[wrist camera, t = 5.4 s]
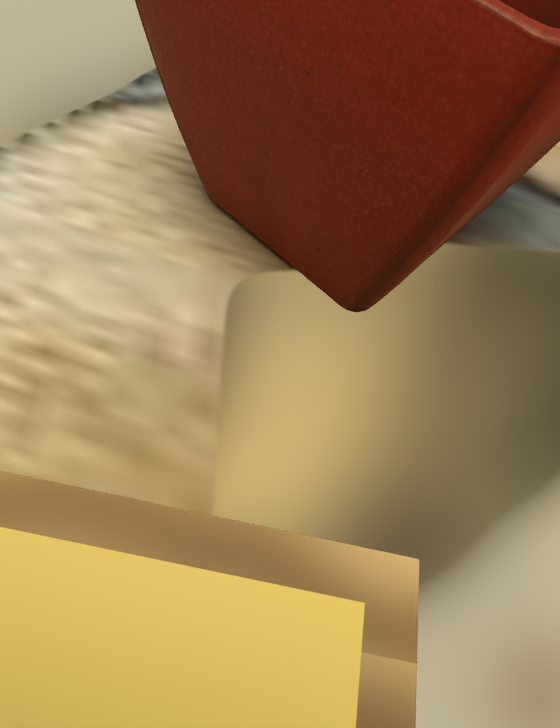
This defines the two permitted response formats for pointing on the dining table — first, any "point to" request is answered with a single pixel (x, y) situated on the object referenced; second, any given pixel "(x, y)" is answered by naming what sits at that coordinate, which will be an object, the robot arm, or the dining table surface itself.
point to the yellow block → (166, 644)
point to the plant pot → (358, 120)
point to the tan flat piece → (249, 571)
